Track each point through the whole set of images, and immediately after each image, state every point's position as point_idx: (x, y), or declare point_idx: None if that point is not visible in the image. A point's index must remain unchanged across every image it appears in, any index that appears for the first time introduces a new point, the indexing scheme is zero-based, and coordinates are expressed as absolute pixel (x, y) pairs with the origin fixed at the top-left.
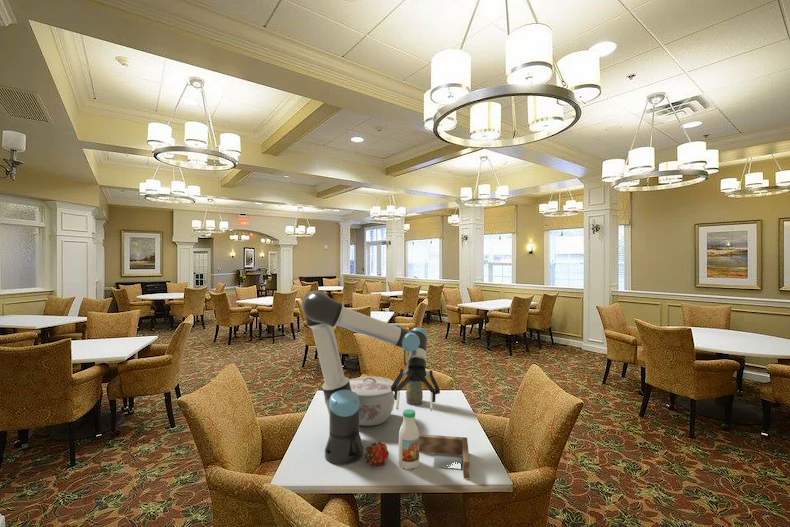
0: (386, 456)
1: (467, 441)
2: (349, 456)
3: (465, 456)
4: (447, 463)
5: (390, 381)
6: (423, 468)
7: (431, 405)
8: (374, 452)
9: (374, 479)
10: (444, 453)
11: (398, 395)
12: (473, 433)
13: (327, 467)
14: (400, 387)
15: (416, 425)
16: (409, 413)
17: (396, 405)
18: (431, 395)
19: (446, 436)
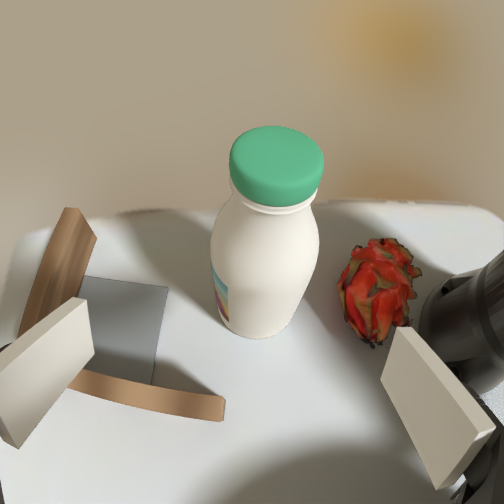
0: (342, 275)
1: (18, 334)
2: (448, 280)
3: (61, 233)
4: (118, 306)
5: None
6: (204, 282)
7: (63, 308)
8: (385, 242)
9: (349, 224)
10: (114, 373)
11: (451, 390)
12: (11, 497)
13: (470, 267)
14: (488, 488)
15: (222, 217)
16: (272, 127)
17: (410, 330)
18: (2, 358)
19: (78, 386)
